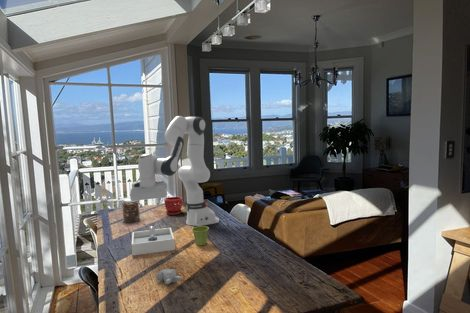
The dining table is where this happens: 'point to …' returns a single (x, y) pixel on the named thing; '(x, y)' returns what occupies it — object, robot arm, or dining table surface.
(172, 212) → the plant pot
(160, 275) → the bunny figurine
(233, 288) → the dining table surface
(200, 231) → the plant pot
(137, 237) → the box
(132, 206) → the jar
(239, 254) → the dining table surface
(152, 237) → the peg
